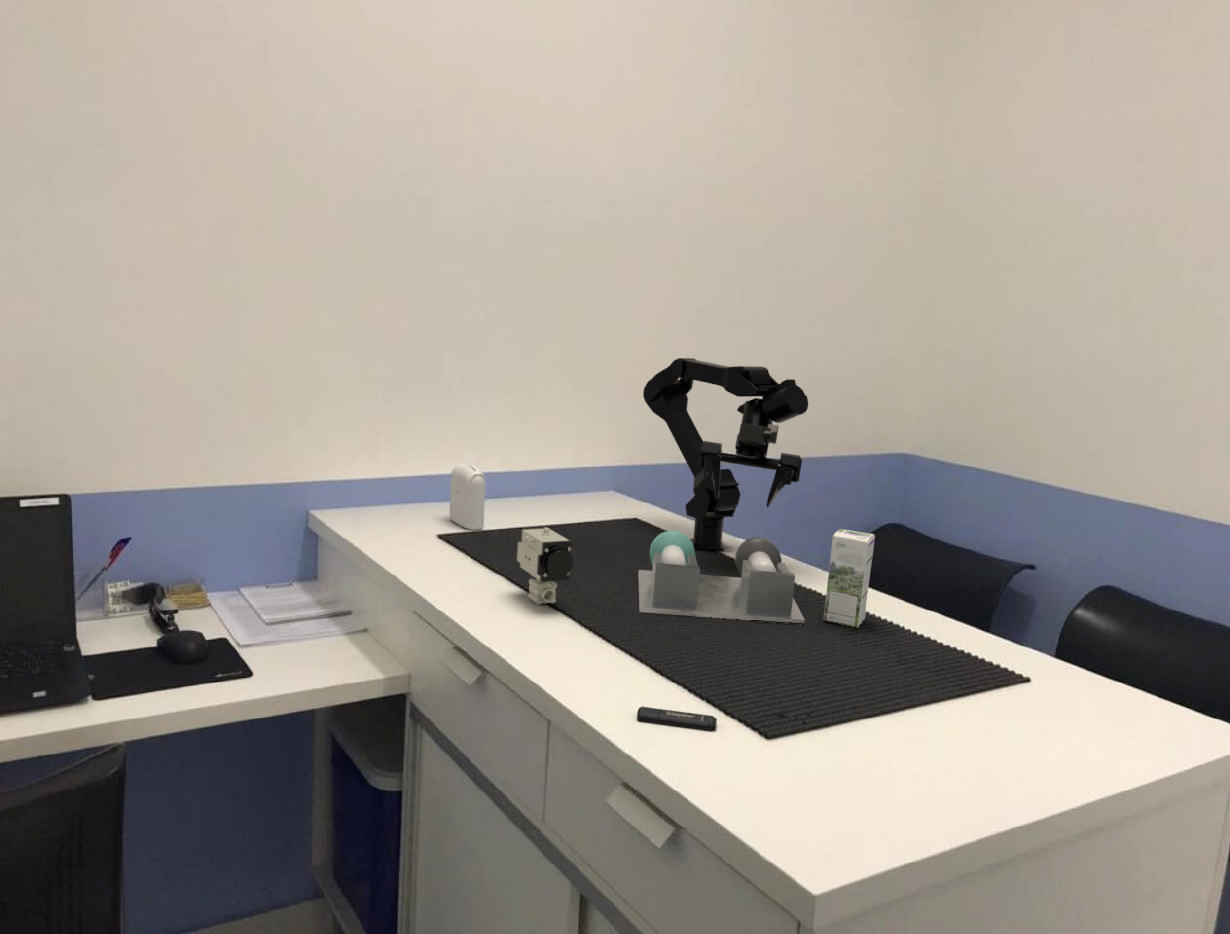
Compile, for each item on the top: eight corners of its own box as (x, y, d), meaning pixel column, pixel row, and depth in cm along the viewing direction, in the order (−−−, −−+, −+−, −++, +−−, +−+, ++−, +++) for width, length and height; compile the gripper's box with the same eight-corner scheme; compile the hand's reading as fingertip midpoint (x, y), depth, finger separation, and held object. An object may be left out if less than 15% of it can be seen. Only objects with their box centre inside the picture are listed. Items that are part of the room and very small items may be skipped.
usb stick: (635, 724, 122) (636, 711, 122) (638, 715, 125) (639, 703, 125) (714, 735, 121) (716, 723, 121) (716, 726, 123) (717, 714, 123)
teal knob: (648, 572, 182) (651, 528, 180) (692, 575, 182) (696, 532, 180) (649, 591, 170) (653, 545, 169) (696, 594, 170) (700, 548, 169)
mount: (638, 574, 184) (641, 533, 183) (784, 585, 184) (788, 545, 183) (639, 612, 163) (643, 566, 161) (804, 624, 163) (809, 579, 161)
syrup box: (865, 619, 168) (876, 533, 165) (857, 629, 162) (868, 540, 160) (830, 612, 170) (840, 527, 167) (822, 622, 165) (832, 533, 162)
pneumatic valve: (539, 589, 171) (544, 518, 168) (570, 611, 161) (576, 536, 158) (508, 592, 168) (512, 520, 166) (538, 614, 158) (543, 538, 156)
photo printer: (446, 519, 214) (449, 460, 211) (465, 518, 216) (468, 460, 214) (466, 531, 205) (469, 470, 203) (486, 530, 207) (489, 469, 205)
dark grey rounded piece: (733, 578, 182) (737, 535, 180) (777, 581, 182) (781, 538, 180) (739, 597, 170) (744, 552, 169) (787, 601, 170) (792, 555, 169)
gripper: (706, 398, 188) (690, 472, 181) (809, 413, 184) (797, 489, 177) (706, 429, 197) (691, 501, 190) (804, 444, 194) (792, 518, 187)
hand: (742, 501), depth 186 cm, fingers open, 9 cm apart
